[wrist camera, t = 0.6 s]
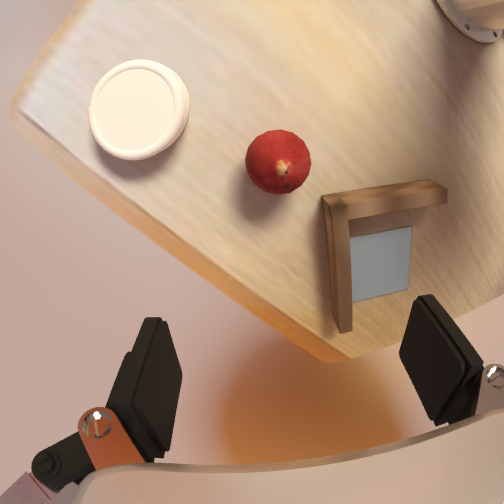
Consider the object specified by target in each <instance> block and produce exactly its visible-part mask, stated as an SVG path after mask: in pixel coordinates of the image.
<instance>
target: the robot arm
mask: <svg viewBox="0 0 504 504" xmlns="http://www.w3.org/2000/svg"><path fill="white" fill-rule="evenodd" d="M436 1H437V3H438V4H439V6H440V8H441V9H442V11H443V12H444V14H445V15H446V16H447V18H448V19H449V20H450V21H451V22H452V23H453V25H454V26H455V27H457V28H458V29H459V30H460V31H461V32H462V33H463V34H465V35H466V36H468V37H469V38H471V39H473V40H475V41H478V42H482V43H489V42H494V41H497V40H498V39H499V38H500V37H501V35H502V33H503V30H504V0H436ZM399 356H400V359H401V361H402V363H403V365H404V367H405V369H406V371H407V373H408V375H409V377H410V379H411V381H412V383H413V385H414V387H415V389H416V391H417V393H418V395H419V397H420V400H421V402H422V404H423V406H424V409H425V411H426V413H427V415H428V417H429V419H430V420H433V421H434V424H435V426H439V425H441V424H444V423H447V421H448V423H449V425H448V426H446V427H442V428H439V429H436V430H433V431H430V432H427V433H424V434H421V435H418V436H415V437H411V438H408V439H405V440H401V441H398V442H394V443H390V444H386V445H382V446H378V447H374V448H369V449H365V450H360V451H355V452H351V453H345V454H340V455H334V456H328V457H321V458H314V459H307V460H299V461H289V462H278V463H264V464H242V465H196V464H172V463H168V464H167V463H154V458H164V454H165V451H169V449H170V445H171V438H172V433H173V427H174V421H175V415H176V409H177V404H178V398H179V393H180V387H181V382H182V371H181V367H180V364H179V361H178V358H177V354H176V351H175V348H174V344H173V341H172V338H171V334H170V331H169V328H168V324H167V322H166V321H162V319H161V318H160V317H148V318H145V319H144V322H143V324H142V327H141V329H140V331H139V334H138V336H137V339H136V341H135V344H134V346H133V349H132V351H131V352H127V353H126V355H125V357H124V360H123V362H122V364H121V367H120V369H119V372H118V374H117V377H116V380H115V382H114V385H113V388H112V390H111V393H110V396H109V398H108V401H107V404H106V407H105V408H104V407H95V408H92V409H90V410H88V411H86V412H85V413H84V414H83V415H82V416H81V418H80V420H79V422H78V432H76V433H74V434H73V435H71V436H69V437H67V438H65V439H63V440H61V441H59V442H58V443H56V444H54V445H52V446H50V447H48V448H46V449H44V450H42V451H41V452H39V453H38V454H37V455H36V456H35V457H34V459H33V462H32V467H31V469H32V471H31V472H30V473H27V472H25V473H24V474H23V475H22V476H21V477H20V478H19V479H18V480H17V481H16V482H15V483H14V484H13V485H12V486H11V487H10V488H8V489H7V490H6V491H5V492H4V493H3V494H2V495H1V496H0V504H504V366H502V365H499V364H490V365H488V366H486V368H484V367H483V363H484V362H483V360H482V359H481V357H480V356H479V354H478V353H477V352H476V350H475V349H474V348H473V346H472V345H471V343H470V342H469V341H468V340H467V338H466V337H465V335H464V334H463V333H462V331H461V330H460V329H459V327H458V326H457V325H456V324H455V322H454V321H453V320H452V318H451V317H450V316H449V314H448V313H447V312H446V311H445V309H444V308H443V307H442V306H441V304H440V303H439V302H438V301H437V300H436V298H435V297H434V296H433V295H432V294H429V295H422V296H418V297H417V299H416V300H415V301H414V302H413V305H412V309H411V312H410V316H409V320H408V323H407V327H406V330H405V334H404V337H403V340H402V344H401V347H400V350H399Z"/></svg>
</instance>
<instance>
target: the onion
mask: <svg viewBox="0 0 504 504" xmlns="http://www.w3.org/2000/svg"><path fill="white" fill-rule="evenodd" d="M245 162H246V168H247V172H248V174H249V176H250V178H251V180H252V182H253V183H254V184H255V185H256V186H258V187H259V188H260V189H261V190H263V191H265V192H269V193H272V194H275V195H277V194H286V193H291V192H292V191H294V190H295V189H297V188H298V187H300V186H301V185H302V184H303V182H304V181H305V179H306V178H307V177H308V175H309V171H310V167H311V159H310V153H309V151H308V149H307V147H306V145H305V143H304V141H303V140H302V139H301V138H299V137H298V136H297V135H295V134H294V133H292V132H288V131H284V130H273V131H267V132H265V133H263V134H262V135H260V136H258V137H256V138H255V140H254V141H253V142H252V143H251V144H250V146H249V147H248V150H247V154H246V158H245Z"/></svg>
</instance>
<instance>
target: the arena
mask: <svg viewBox="0 0 504 504" xmlns="http://www.w3.org/2000/svg"><path fill="white" fill-rule="evenodd" d="M322 203H323V211H324V220H325V229H326V239H327V249H328V260H329V272H330V284H331V299H332V314H333V317H334V320H335V322H336V325H337V328H338V330H339V333H340V334H342V333H346V332H350V331H352V275H351V253H350V236H349V222H348V220H351V219H356V218H362V217H368V216H373V215H379V214H385V213H391V212H396V211H402V210H408V209H414V208H420V207H426V206H432V205H438V204H444V203H447V188H445V187H443V186H441V185H439V184H437V183H435V182H433V181H431V180H422V181H414V182H407V183H399V184H392V185H385V186H379V187H372V188H365V189H359V190H352V191H346V192H340V193H334V194H328V195H322Z"/></svg>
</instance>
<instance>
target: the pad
mask: <svg viewBox="0 0 504 504" xmlns="http://www.w3.org/2000/svg"><path fill="white" fill-rule="evenodd" d="M410 251H411V226H408V227H403V228H397V229H392V230H387V231H382V232H376V233H371V234H366V235H361V236H355V237H350V253H351V275H352V302H355V301H360V300H364V299H369V298H373V297H377V296H381V295H385V294H390V293H394V292H398V291H402V290H406V289H408V281H409V268H410Z"/></svg>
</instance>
